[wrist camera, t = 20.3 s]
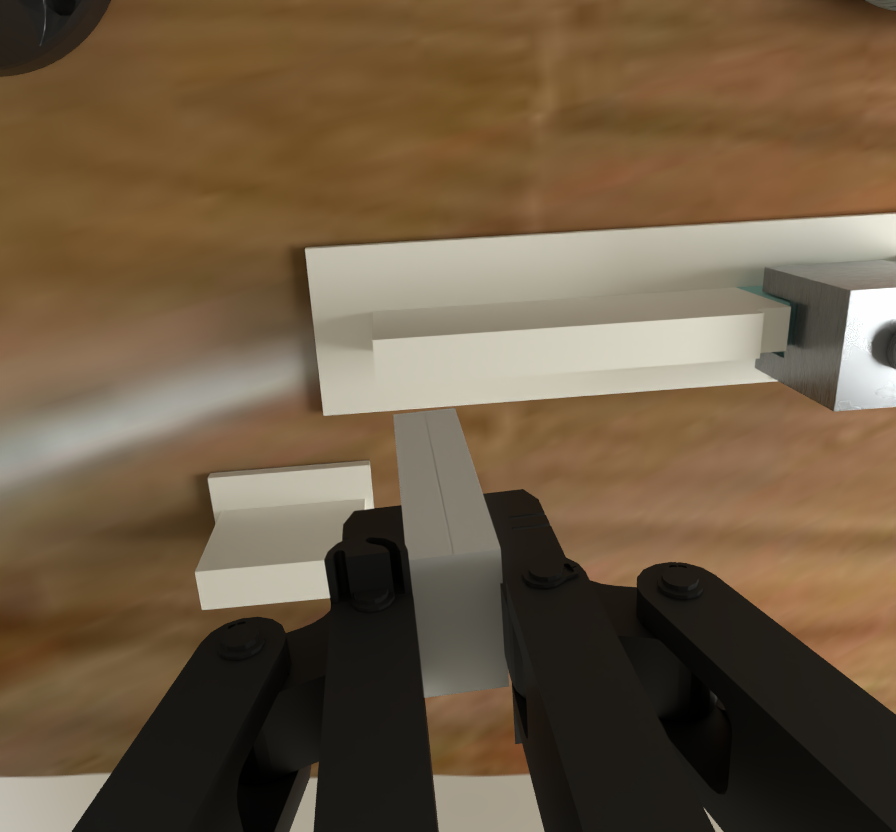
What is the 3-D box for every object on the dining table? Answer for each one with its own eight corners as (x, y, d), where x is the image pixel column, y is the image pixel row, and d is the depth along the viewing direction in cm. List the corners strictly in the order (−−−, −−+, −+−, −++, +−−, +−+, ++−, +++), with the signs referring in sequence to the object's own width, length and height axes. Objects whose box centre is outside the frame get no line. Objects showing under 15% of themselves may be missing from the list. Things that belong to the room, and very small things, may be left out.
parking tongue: (210, 473, 46) (177, 534, 38) (369, 460, 46) (368, 518, 39) (227, 569, 48) (199, 645, 40) (378, 555, 49) (379, 628, 41)
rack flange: (306, 247, 42) (286, 272, 32) (916, 211, 44) (1062, 224, 35) (324, 411, 45) (311, 477, 36) (890, 368, 48) (1017, 419, 38)
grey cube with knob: (764, 266, 41) (867, 295, 33) (881, 259, 42) (1012, 285, 33) (754, 367, 43) (849, 419, 35) (865, 359, 44) (985, 408, 35)
